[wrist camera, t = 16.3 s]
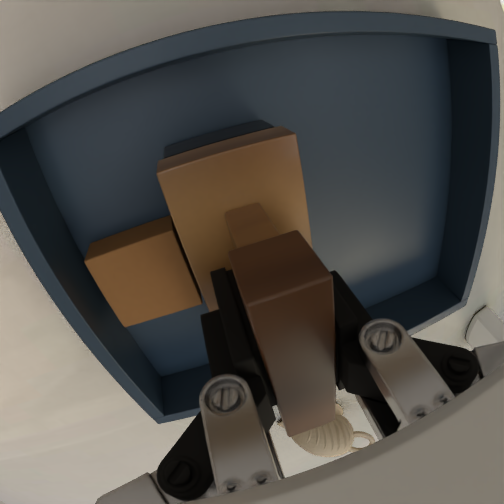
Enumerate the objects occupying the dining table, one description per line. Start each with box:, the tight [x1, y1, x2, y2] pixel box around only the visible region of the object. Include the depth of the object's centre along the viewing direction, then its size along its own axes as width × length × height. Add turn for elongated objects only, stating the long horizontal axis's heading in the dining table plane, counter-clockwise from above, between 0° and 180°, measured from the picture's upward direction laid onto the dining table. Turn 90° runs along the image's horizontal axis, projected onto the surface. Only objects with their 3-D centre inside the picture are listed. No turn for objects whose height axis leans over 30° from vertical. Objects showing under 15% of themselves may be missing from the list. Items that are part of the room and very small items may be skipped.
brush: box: [156, 120, 336, 437], centre depth 11 cm, size 10×4×8 cm, turn 12°
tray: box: [0, 11, 500, 424], centre depth 14 cm, size 18×22×4 cm
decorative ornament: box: [278, 403, 375, 457], centre depth 26 cm, size 4×8×5 cm, turn 60°
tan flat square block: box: [84, 215, 203, 327], centre depth 14 cm, size 4×4×2 cm
